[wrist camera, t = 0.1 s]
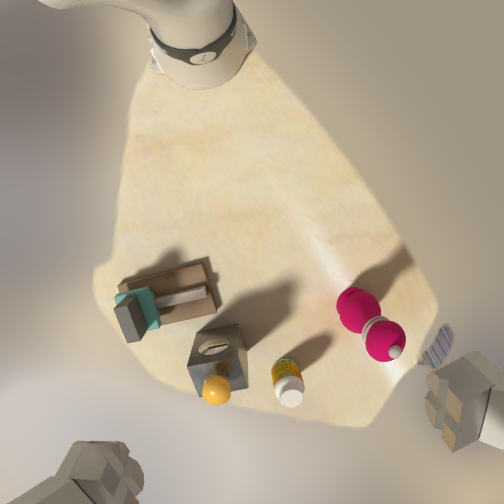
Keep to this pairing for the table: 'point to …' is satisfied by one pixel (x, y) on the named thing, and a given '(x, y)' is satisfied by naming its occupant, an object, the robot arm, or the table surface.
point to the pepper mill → (371, 324)
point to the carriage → (137, 313)
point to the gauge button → (216, 390)
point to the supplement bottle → (288, 382)
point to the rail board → (177, 285)
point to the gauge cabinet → (219, 357)
